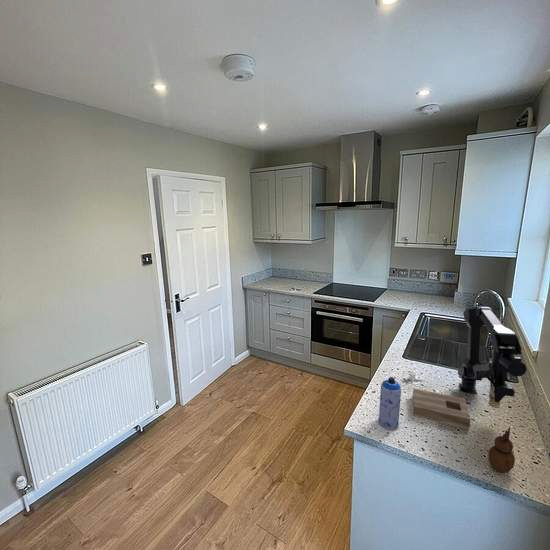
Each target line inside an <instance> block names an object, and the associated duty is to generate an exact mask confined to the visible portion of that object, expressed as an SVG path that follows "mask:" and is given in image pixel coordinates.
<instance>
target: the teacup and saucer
mask: <svg viewBox="0 0 550 550" xmlns="http://www.w3.org/2000/svg"><path fill="white" fill-rule="evenodd" d="M416 374H417V373H416V372H414V371H409V372H408V373H407V375H409V377H408V376H407V377H406V378H408V379H409V380H410V381H409V382H407V383H408V384H412V385H418V384H420V383H421V382H422V381H423V376H421V375H416ZM414 381H417V382H414ZM411 382H412V383H411Z"/></svg>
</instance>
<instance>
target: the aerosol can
mask: <svg viewBox="0 0 550 550" xmlns="http://www.w3.org/2000/svg"><path fill="white" fill-rule="evenodd" d="M379 394H380V396H379V408H378V409H379V411H378V419H377V424H378V425H379V426H380V427H381V428H382V427H383V429H384V428H385V429H384V430H387V431H396V430H398V429H399V426H400V423H399V422H400V410H401V397H402V387H401V384H400V383H399V382H398V381H396V379H395V377H393V376H390V377H388V379H385V380H384V381H382V382H381V385H380V393H379Z"/></svg>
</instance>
